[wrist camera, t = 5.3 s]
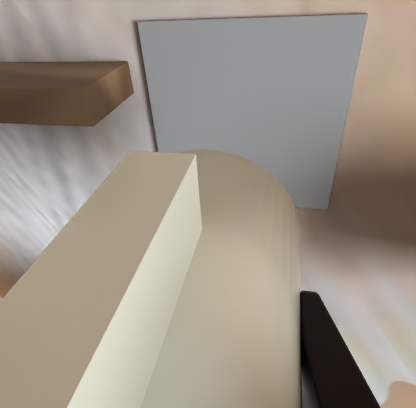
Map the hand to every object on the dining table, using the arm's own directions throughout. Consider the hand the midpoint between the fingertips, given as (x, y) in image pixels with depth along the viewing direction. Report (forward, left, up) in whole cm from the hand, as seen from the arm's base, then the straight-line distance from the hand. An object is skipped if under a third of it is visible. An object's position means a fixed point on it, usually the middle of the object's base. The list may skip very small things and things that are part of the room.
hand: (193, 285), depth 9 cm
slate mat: (0, 0, -11) cm, 11 cm away
